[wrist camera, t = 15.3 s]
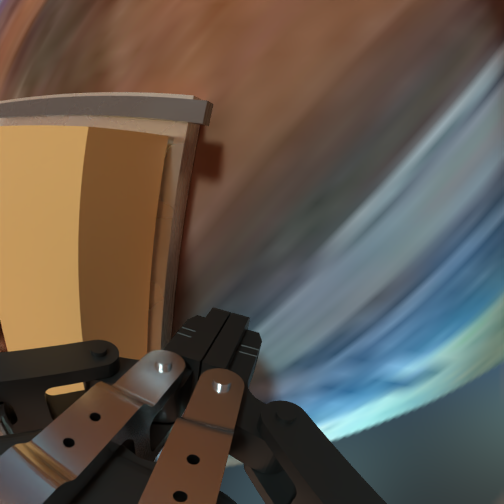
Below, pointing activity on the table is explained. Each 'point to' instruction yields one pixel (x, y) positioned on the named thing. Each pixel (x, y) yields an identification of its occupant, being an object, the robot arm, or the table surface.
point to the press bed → (173, 176)
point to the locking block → (77, 236)
